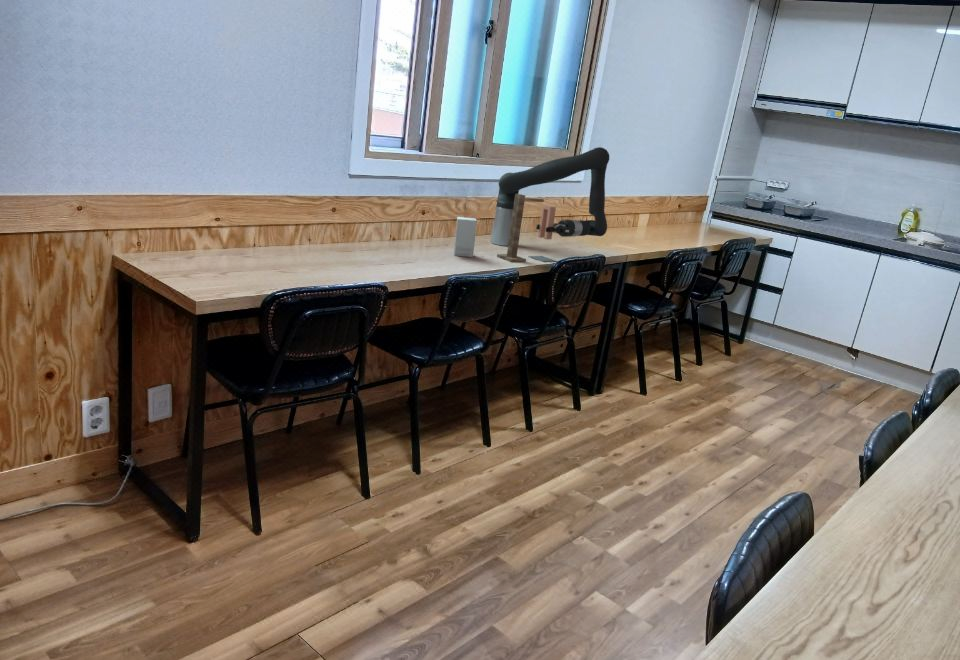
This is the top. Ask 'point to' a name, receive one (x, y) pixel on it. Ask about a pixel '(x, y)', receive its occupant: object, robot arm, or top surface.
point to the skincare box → (465, 236)
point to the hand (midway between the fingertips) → (541, 228)
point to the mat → (542, 258)
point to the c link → (546, 221)
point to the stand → (516, 229)
